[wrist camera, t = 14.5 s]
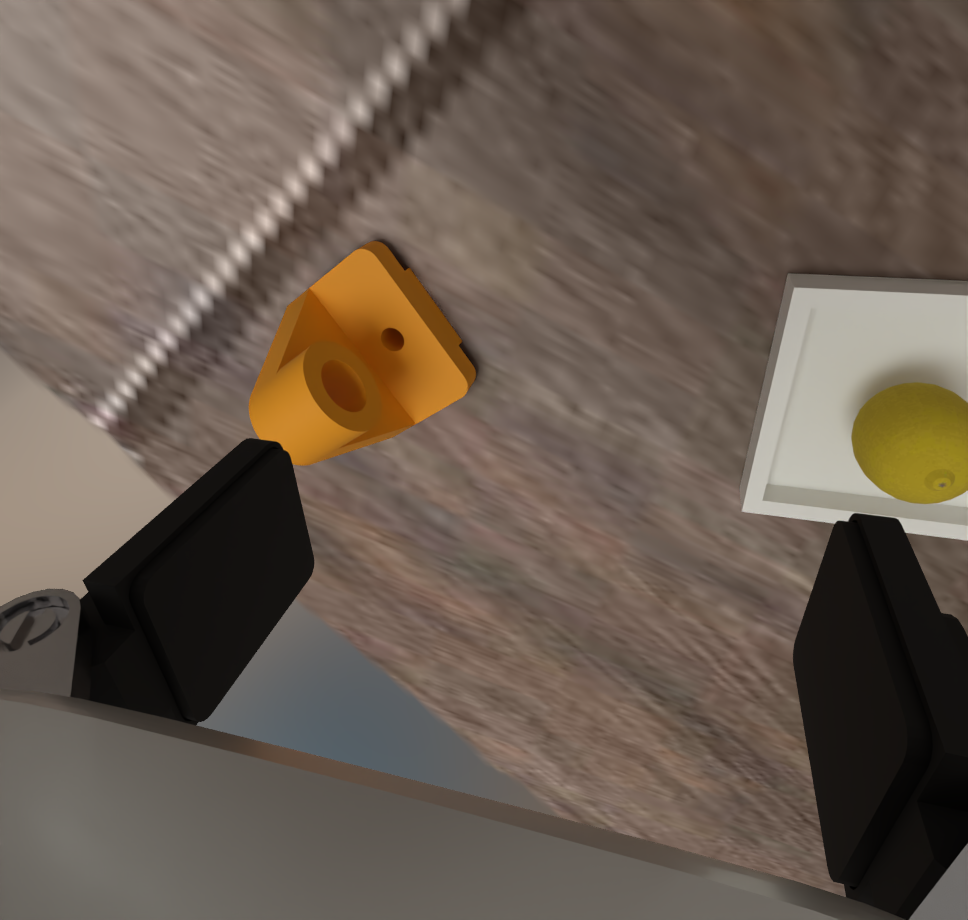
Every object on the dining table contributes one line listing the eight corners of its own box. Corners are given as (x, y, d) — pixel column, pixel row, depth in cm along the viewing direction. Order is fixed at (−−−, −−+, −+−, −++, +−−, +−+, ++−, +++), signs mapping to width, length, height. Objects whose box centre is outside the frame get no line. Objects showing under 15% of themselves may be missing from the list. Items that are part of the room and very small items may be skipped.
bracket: (485, 372, 42) (422, 470, 32) (407, 418, 45) (329, 518, 36) (383, 231, 38) (279, 292, 29) (308, 292, 42) (193, 365, 32)
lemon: (822, 436, 37) (852, 517, 31) (863, 349, 34) (907, 419, 28) (923, 458, 36) (975, 546, 30) (974, 371, 33) (1046, 447, 27)
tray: (787, 273, 34) (794, 287, 32) (1103, 286, 30) (1133, 303, 28) (739, 489, 41) (741, 511, 39) (987, 518, 38) (1004, 545, 36)
